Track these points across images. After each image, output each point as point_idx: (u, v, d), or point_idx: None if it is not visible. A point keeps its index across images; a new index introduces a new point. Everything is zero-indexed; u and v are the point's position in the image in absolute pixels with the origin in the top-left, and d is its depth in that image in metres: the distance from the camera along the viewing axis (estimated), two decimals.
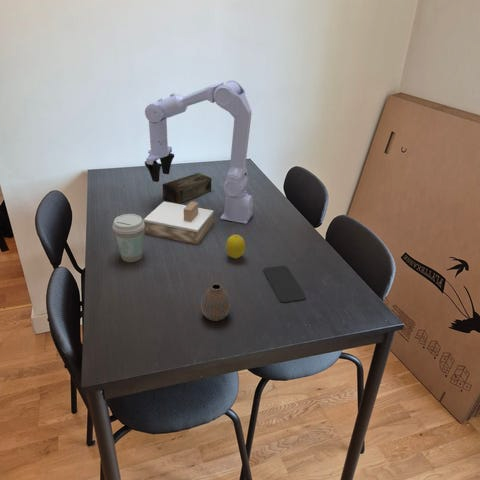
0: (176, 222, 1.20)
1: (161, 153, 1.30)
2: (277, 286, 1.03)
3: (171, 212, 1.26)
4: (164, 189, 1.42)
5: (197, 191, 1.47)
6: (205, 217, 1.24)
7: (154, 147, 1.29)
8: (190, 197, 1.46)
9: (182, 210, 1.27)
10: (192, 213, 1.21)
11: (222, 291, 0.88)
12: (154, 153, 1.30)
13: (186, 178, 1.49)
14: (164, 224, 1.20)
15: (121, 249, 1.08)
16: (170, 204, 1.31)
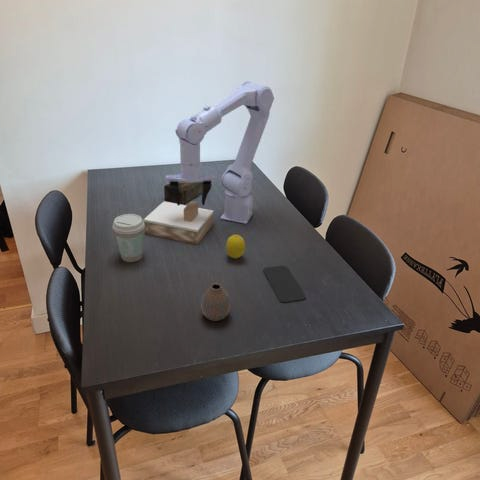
0: (176, 222, 1.20)
1: (183, 177, 1.14)
2: (277, 286, 1.03)
3: (171, 212, 1.26)
4: (166, 190, 1.41)
5: (198, 190, 1.48)
6: (205, 217, 1.24)
7: None
8: (192, 197, 1.46)
9: (182, 210, 1.27)
10: (192, 213, 1.21)
11: (222, 291, 0.88)
12: (181, 174, 1.16)
13: None
14: (164, 224, 1.20)
15: (121, 249, 1.08)
16: (170, 204, 1.31)
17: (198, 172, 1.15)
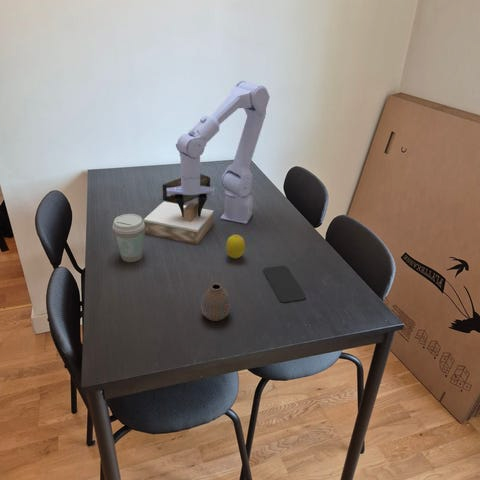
0: (176, 222, 1.20)
1: (184, 189, 1.17)
2: (277, 286, 1.03)
3: (171, 212, 1.26)
4: (164, 189, 1.42)
5: None
6: (205, 217, 1.24)
7: (181, 181, 1.17)
8: (190, 197, 1.46)
9: None
10: (192, 213, 1.21)
11: (222, 291, 0.88)
12: (181, 187, 1.18)
13: None
14: (164, 224, 1.20)
15: (121, 249, 1.08)
16: (170, 204, 1.31)
17: (198, 185, 1.17)
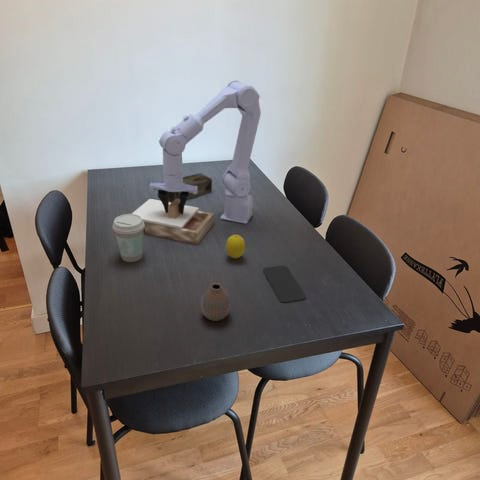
0: (161, 219, 1.21)
1: (165, 186, 1.18)
2: (277, 286, 1.03)
3: (156, 209, 1.27)
4: None
5: None
6: (190, 214, 1.25)
7: None
8: (187, 197, 1.46)
9: None
10: (176, 210, 1.22)
11: (222, 291, 0.88)
12: None
13: (186, 178, 1.49)
14: (149, 221, 1.21)
15: (121, 249, 1.08)
16: (156, 201, 1.32)
17: (179, 182, 1.18)
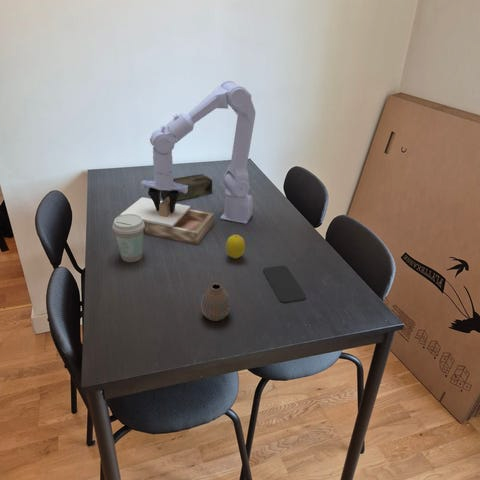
0: (152, 217, 1.22)
1: (155, 184, 1.19)
2: (277, 286, 1.03)
3: (147, 207, 1.28)
4: None
5: (194, 191, 1.47)
6: (181, 212, 1.26)
7: None
8: (186, 197, 1.46)
9: None
10: (168, 208, 1.23)
11: (222, 291, 0.88)
12: None
13: (187, 177, 1.49)
14: None
15: (121, 249, 1.08)
16: (148, 200, 1.32)
17: (169, 181, 1.18)
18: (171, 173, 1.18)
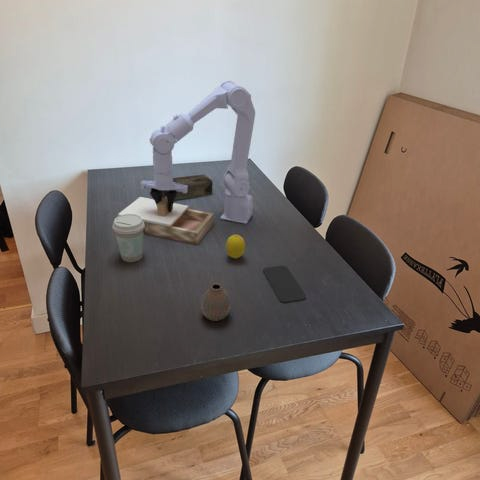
0: (150, 217, 1.22)
1: (155, 184, 1.19)
2: (277, 286, 1.03)
3: (146, 207, 1.28)
4: None
5: (193, 191, 1.47)
6: (179, 212, 1.26)
7: None
8: (184, 196, 1.46)
9: None
10: (166, 208, 1.23)
11: (222, 291, 0.88)
12: None
13: (187, 177, 1.49)
14: None
15: (121, 249, 1.08)
16: (146, 199, 1.33)
17: (169, 181, 1.18)
18: (171, 173, 1.18)
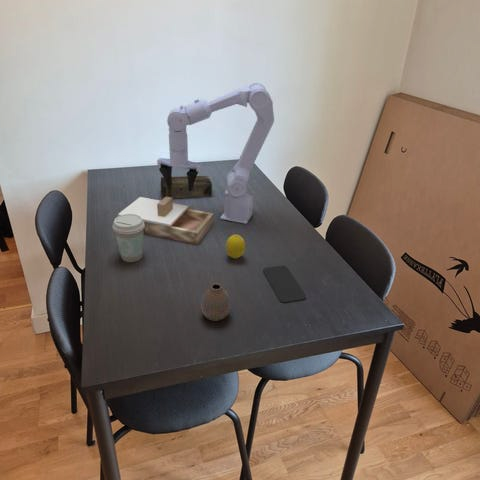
0: (150, 217, 1.22)
1: (170, 161, 1.24)
2: (277, 286, 1.03)
3: (146, 207, 1.28)
4: None
5: (191, 192, 1.46)
6: (179, 212, 1.26)
7: None
8: (181, 196, 1.46)
9: None
10: (166, 208, 1.23)
11: (222, 291, 0.88)
12: None
13: None
14: None
15: (121, 249, 1.08)
16: (146, 199, 1.33)
17: (183, 159, 1.22)
18: (185, 151, 1.22)
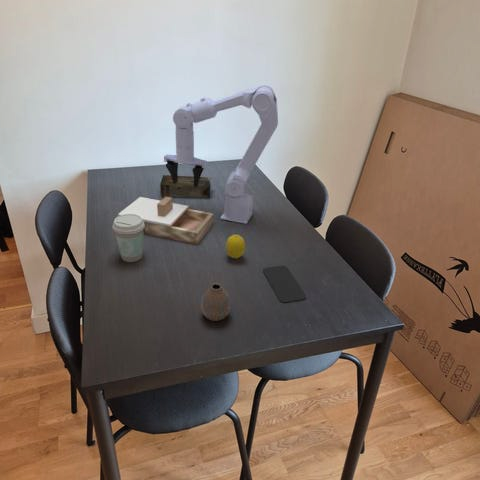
0: (150, 217, 1.22)
1: (176, 157, 1.26)
2: (277, 286, 1.03)
3: (146, 207, 1.28)
4: None
5: (189, 192, 1.46)
6: (179, 212, 1.26)
7: None
8: (179, 195, 1.47)
9: None
10: (166, 208, 1.23)
11: (222, 291, 0.88)
12: None
13: (189, 177, 1.49)
14: None
15: (121, 249, 1.08)
16: (146, 199, 1.33)
17: (189, 155, 1.25)
18: (191, 148, 1.24)
